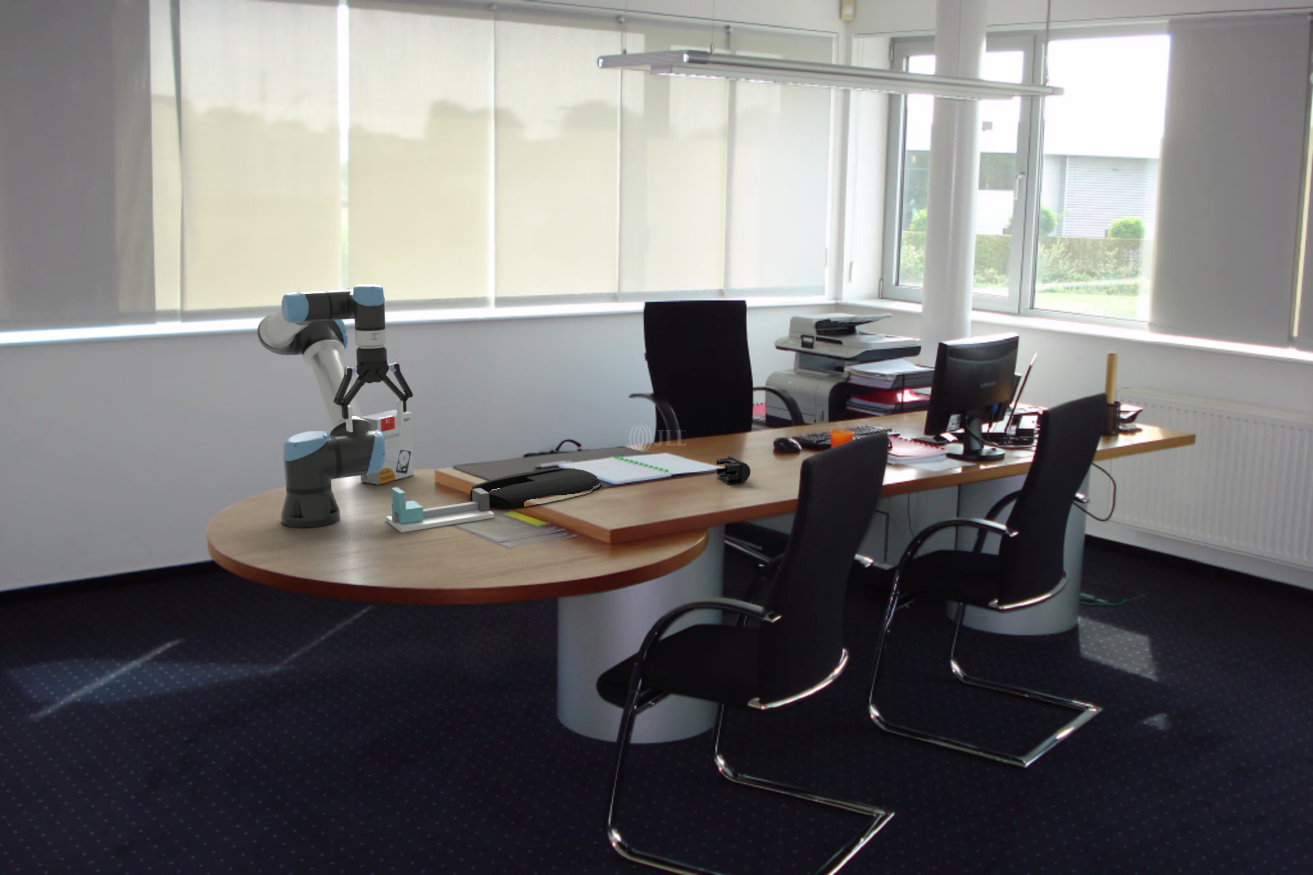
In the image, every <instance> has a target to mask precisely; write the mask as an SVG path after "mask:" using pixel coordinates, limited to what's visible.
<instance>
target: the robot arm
mask: <svg viewBox="0 0 1313 875" xmlns="http://www.w3.org/2000/svg"><path fill="white" fill-rule="evenodd" d="M384 292H385V291H384V288H383V286H382V285H380V284H378V283H377V284H374V283H369V284H368V283H363V284H355V285H354V286H353V288H345V289H340V290H339V289H337V290H324V291H320V290H319V291H304V292H302V291H301V292H300V291H295V292H287V293H285V294H284V295H283V296H282V297H281V298H282V299H281V309H279V310H278V311H277V312H275V313H271V314H269V315H267V316H264V318H263V319H262V320H261V321H259V324H258V326H257V330H256V334H257V338H258V342H259V343H260V344H261V345H262V347H264V348H265V349H266V350H268V351H269V352H271V353H274V354H276V355H279V356H280V355H281V356H299V355H302V358H303V360H304V362H305V363H306V364H307V365H310V366H311V368H312V370H313V373H314V376H315V379H316V382H317V386H318V388H319V392H320V395H321V398H322V401H323V404H324V407H325V409H326V413H327V416H328V420H329V423H330V425H331V430H330V432H329V433H328V432H327V431H324V430H315V431H314V430H311V431H303V432H301V433H297V434H294V435H292V436H290V437H288V438H287V439H286V440H284V443H283V456H282V460H283V466H284V467H283V468H284V478H285V492H286V494H285V498H284V501H283V505H282V510H281V512H280V520H281V524H282V523H283V524H282V525H284V524H285V525H284V526H286V525H289V526H288V527H290V526H294V527H293V528H298V527H308V528H317V527H322V526H328V525H331V524H334V523H336V522H338V521H339V520H340V519H341V512H340V507H339V504H338V502H337V500H336V497H335V495H334V493H333V489H332V480H336V479H344V478H352V477H358V476H361V475H368V474H372V473H377V472H379V471H380V470H381V469H382V467H383V465H384V461H385V440H384V436H383V433H382V432H381V431H380V430H374V431H373V429H372V426H371V424H370V422H369V421H367V420H365V419H363V414H362V412H361V410H360V406H359V404H358V401H357V397H356V396H357V394H358V392H359V391H360V390H361V389H362V387H363V386H365V384H366V383H367V384H373V383H382V382H383V383H384V384H385V385H386V386H387V387H388V388H389V390H391V391H392V393H393V394H394V395H396V397H397V398H398V399H396V401H395V402H396V406H395V407H396V410H397V424H398V425H400V426H404V416H403V413H404V412H407V401H408V400H409V399H410V398H413V396H414V393H413V391H412V390H411V388H410V386H409V384H408V382H407V381H406V379H405V377H404V375H403V373H402V371H401V367H400V364H399V363H397V362H395V361H393V362H392V363H389V364H388V353H387V347H386V346H385V345H386V344H387V335H386V334H387V330H386V310H385V309H386V308H385V302H386V297H385V293H384ZM343 320H344V321H345V320H354V329H355V330H354V332H355V334H354V335H355V345H356V346H357V347H356V349H355V352H356V356H355V357H356V367H350V366H346V365H345V362H344V360H343V356H344V353H345V350H346V349H347V346H348V342H349V339H348V334H347V328H346V325H345V323H344V321H343ZM389 371H391V372H392V373H393V375H394V377H395V378H396V380H397V382H398V384H399V385H400V387H401V389H402V391H401V390H400V388H398V386H397V385H396V384H395V383H394V382H393V381H392V380H391V378H389V376H388V375H387V373H388V372H389ZM355 374H357V375H358V376H357V378H356V379H355V382H354V383H353V384H352V383H351V381H352V377H353V376H354V375H355Z"/></svg>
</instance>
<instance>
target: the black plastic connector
mask: <svg viewBox="0 0 1313 875" xmlns="http://www.w3.org/2000/svg"><path fill="white" fill-rule="evenodd" d="M715 461H716V465H717V466H719V465H720V466H721V465H724V467H721V468H720V467H719V468H716V472H715V473H716V475H717V476H716V479H717V480H719V481H720V482H722V483H724V484H726V485H727V486H735V485H742V484H743V483H745V482H746V481H747V480H748V479H749V478H750V476H751V468H750V466H749V464H747V463H746V462H744V461H743V460H740V459H738V458H736V457H735V456H732V455H728V456H727V457H726V458H717V459H716V460H715Z"/></svg>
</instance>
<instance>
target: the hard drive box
mask: <svg viewBox="0 0 1313 875" xmlns="http://www.w3.org/2000/svg"><path fill="white" fill-rule="evenodd" d="M403 416H404V426H400V425H398V424H397V409H392V410H387V411H381V412H378V413H374V414H373V413H372V414H368V415H364V416H363V415H362V417H363V419H365V420H367V421H369V422H370V424H371V426H372V429H373V431H374V430H380V431H381V432H382V433H383V436H384V440H385V461H384V465H383V467H382V469H381V470H380V471H379V472H377V473H372V474H368V475H360V482H363V483H367V484H372V485H377V486H378V485H382V484H387V483H390V482H393V481H398V480H400V479H405V478H408V477H411V476H414V474H415V473H414V446H413V445H414V442H413V441H414V440H413V439H414V438H413V412H412V411H406V412H404V413H403Z"/></svg>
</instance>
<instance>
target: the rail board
mask: <svg viewBox="0 0 1313 875" xmlns="http://www.w3.org/2000/svg"><path fill="white" fill-rule="evenodd" d="M471 490H472V498H473V499H472V501H470V502H469V501H467V502H464V503H455V504H448V505H444V506H442V505H441V506H436V507H429V508H423V521H416V522H410V523H403V524H401V523H400V522H399V514H397V513H394V514H391V515H387V516H385V521H386V522H387V523H388V524H389V525H391V526H392V527H394V528H395V529H396V530H397V531H399V532H400V533H405V532H411V531H418V530H425V529H430V528H437V527H442V526H443V527H444V526H445V527H446V526H449V525H455V524H463V523H469V522H475V521H481V520H482V521H483V520H487V519H494V518H495V513H494V512H493V511H491V509H490V506H489V493H488V492H487V491H485V490H483V489H481V488H477V489H472V488H471Z"/></svg>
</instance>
